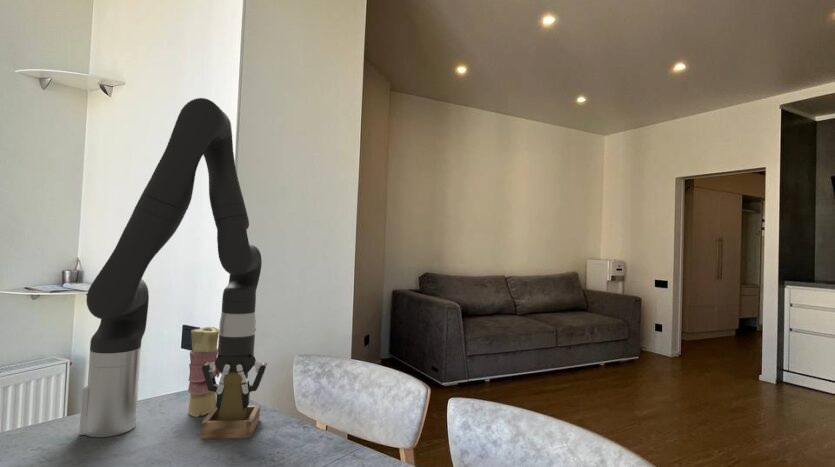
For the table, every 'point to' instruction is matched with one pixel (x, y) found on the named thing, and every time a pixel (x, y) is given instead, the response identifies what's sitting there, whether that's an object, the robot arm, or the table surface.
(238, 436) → the wooden tray
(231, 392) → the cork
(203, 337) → the scroll
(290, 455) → the table surface
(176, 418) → the table surface
